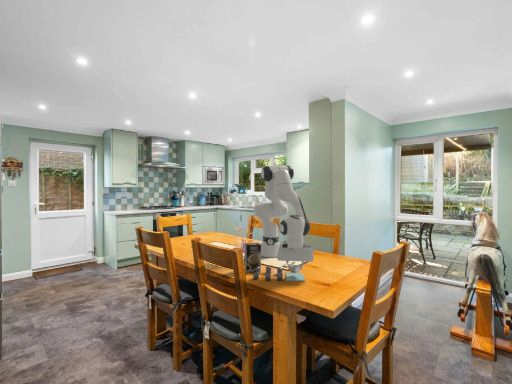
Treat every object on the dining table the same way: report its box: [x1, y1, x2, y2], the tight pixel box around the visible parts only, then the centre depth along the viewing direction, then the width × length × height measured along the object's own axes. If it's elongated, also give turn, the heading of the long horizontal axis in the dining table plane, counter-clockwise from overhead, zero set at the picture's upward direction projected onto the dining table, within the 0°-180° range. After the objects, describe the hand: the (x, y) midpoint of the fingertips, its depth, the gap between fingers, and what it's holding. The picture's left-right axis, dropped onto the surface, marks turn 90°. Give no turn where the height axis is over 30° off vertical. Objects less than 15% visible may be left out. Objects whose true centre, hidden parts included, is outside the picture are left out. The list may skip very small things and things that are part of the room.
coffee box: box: [243, 242, 262, 273], centre depth 159 cm, size 9×6×16 cm
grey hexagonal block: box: [289, 264, 301, 273], centre depth 147 cm, size 6×5×3 cm
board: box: [285, 272, 306, 283], centre depth 147 cm, size 12×10×1 cm
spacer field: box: [252, 265, 284, 282], centre depth 148 cm, size 15×16×4 cm
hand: (295, 268), depth 147 cm, fingers closed on grey hexagonal block, 5 cm apart
